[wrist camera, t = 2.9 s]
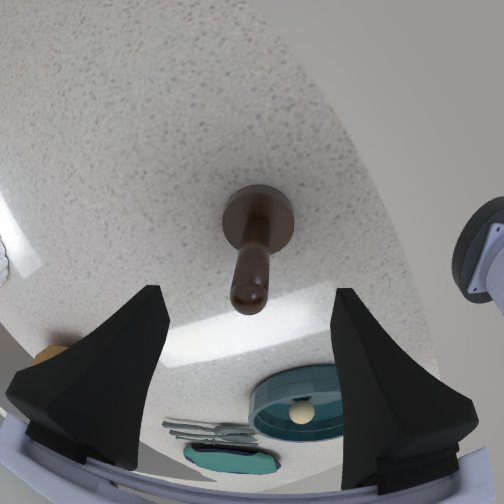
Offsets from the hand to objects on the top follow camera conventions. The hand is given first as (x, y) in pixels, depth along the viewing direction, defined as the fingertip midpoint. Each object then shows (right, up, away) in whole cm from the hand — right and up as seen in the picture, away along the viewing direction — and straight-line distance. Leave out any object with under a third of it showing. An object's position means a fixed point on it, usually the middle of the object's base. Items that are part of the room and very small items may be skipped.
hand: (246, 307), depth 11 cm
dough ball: (+6, -16, +18) cm, 25 cm away
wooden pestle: (+1, +5, +7) cm, 9 cm away
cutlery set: (-4, -36, +33) cm, 49 cm away
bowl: (+8, -15, +19) cm, 26 cm away
